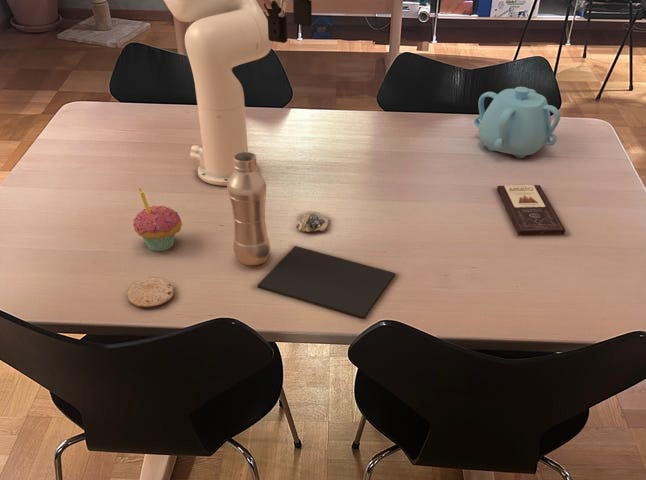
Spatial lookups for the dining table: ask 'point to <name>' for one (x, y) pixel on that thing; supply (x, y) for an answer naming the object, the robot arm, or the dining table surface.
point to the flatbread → (150, 292)
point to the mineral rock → (312, 223)
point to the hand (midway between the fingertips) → (290, 32)
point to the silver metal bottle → (248, 210)
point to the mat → (327, 281)
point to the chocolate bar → (530, 210)
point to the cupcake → (157, 225)
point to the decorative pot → (516, 121)
